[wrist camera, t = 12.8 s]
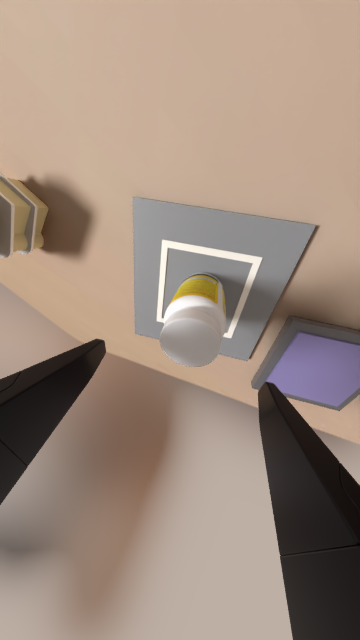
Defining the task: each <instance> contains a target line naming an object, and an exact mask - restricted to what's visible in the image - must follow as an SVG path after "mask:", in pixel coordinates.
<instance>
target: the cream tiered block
mask: <svg viewBox="0 0 360 640" xmlns="http://www.w3.org/2000/svg"><path fill="white" fill-rule="evenodd" d="M48 209H49V208H48V207H47V206H46V205H45V204H44V203H43V202H42V201H41V200H39V199H38V198H37V197H36V196H35V195H34V194H33V193H32V192H31V191H30V190H29V189H28V188H26V187H25V186H24V185H23V184H22V183H21V182H20V181H19V180H15V179H9V178H6V177H5V176H4V175H3V174H2V173H1V172H0V257H1V258H7V257H10V256H11V255H12V254H13V252H18V253H21V254H29V253H31V252H32V251H33V249H35V248H41V247H42V246H43V244H44V239H43V236H42V233H41V231H42V228H43V225H44V222H45V219H46V216H47V213H48Z"/></svg>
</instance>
